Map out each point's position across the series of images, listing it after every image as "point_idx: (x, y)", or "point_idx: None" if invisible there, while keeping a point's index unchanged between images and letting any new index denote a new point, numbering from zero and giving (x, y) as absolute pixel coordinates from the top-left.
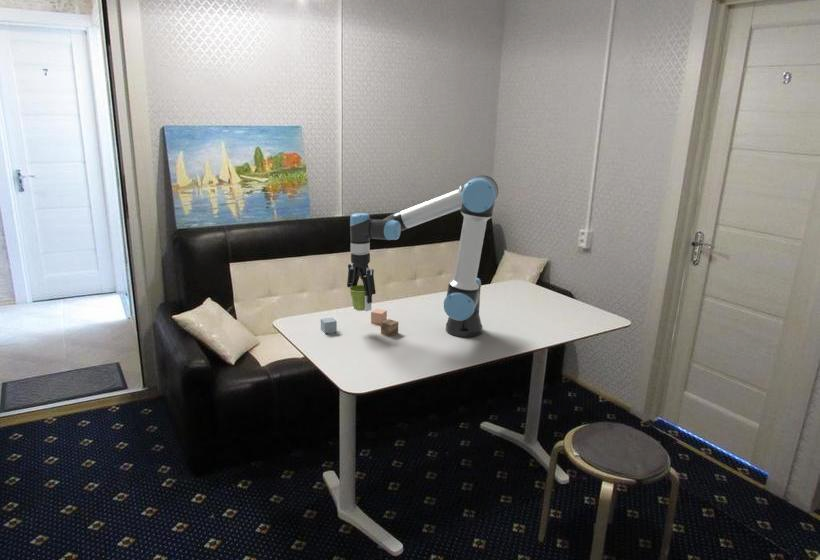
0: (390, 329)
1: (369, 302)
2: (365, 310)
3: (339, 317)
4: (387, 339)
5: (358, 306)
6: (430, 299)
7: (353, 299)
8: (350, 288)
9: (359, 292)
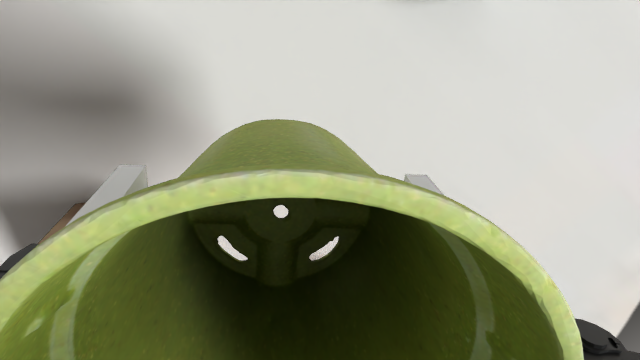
0: (49, 232)
1: (16, 260)
2: (132, 168)
3: (584, 182)
4: (33, 156)
5: (218, 142)
6: None
7: (304, 147)
8: (526, 297)
9: (45, 270)
